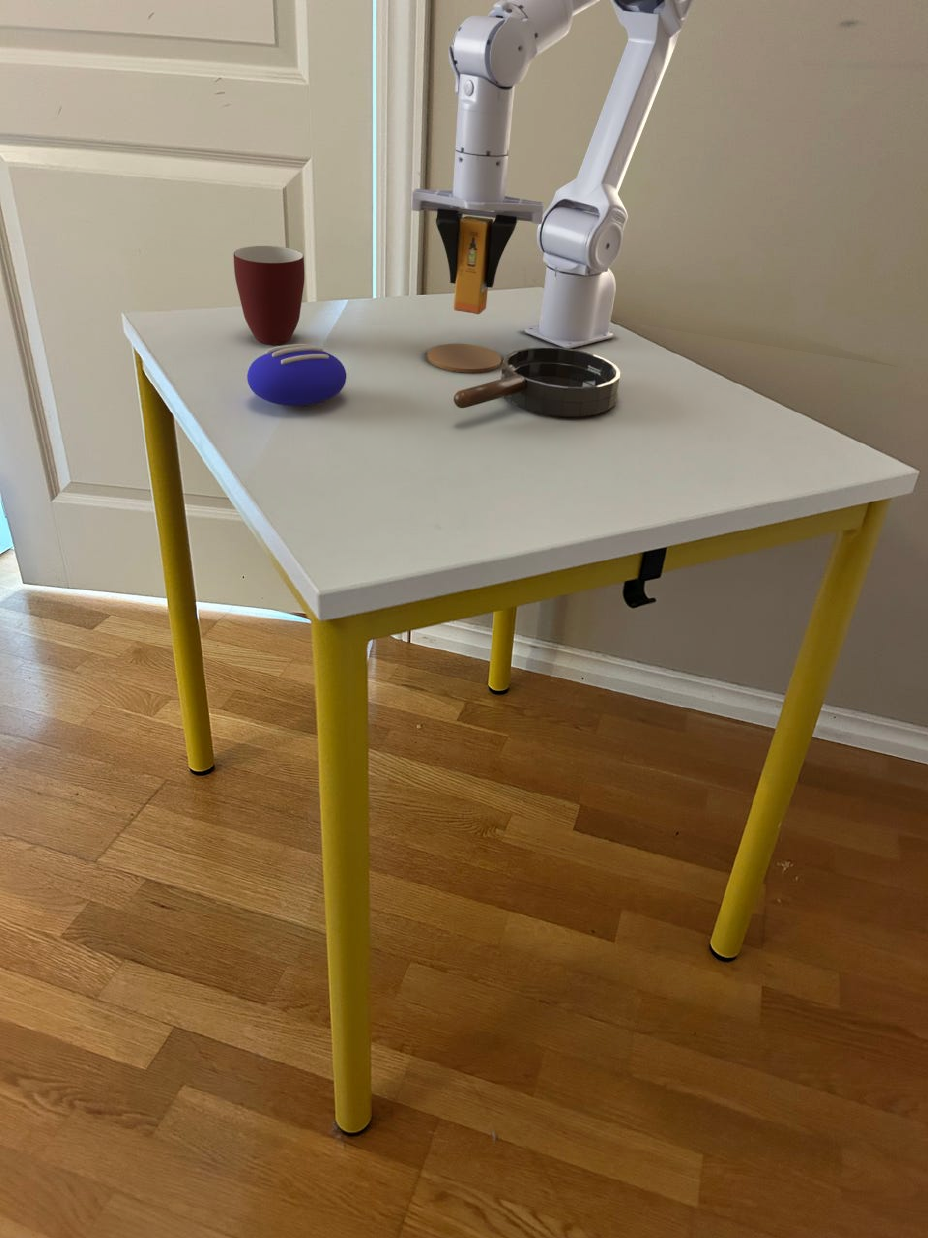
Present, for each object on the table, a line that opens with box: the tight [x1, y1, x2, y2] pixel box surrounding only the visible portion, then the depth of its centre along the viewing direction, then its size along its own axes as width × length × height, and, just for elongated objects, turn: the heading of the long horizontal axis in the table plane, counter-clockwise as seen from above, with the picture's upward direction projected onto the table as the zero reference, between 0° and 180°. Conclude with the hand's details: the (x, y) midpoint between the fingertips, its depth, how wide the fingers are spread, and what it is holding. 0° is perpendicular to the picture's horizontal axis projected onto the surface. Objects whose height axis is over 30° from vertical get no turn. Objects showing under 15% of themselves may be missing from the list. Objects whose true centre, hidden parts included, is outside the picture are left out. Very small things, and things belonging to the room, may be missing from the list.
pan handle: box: [453, 375, 526, 409], centre depth 92 cm, size 10×2×2 cm, turn 133°
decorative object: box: [246, 343, 347, 407], centre depth 92 cm, size 10×6×10 cm
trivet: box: [427, 343, 502, 374], centre depth 107 cm, size 9×9×1 cm
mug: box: [232, 245, 306, 346], centre depth 106 cm, size 11×8×10 cm
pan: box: [500, 346, 621, 418], centre depth 99 cm, size 13×13×4 cm
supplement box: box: [453, 215, 494, 315], centre depth 101 cm, size 3×4×10 cm
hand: (471, 283), depth 102 cm, fingers closed on supplement box, 3 cm apart
